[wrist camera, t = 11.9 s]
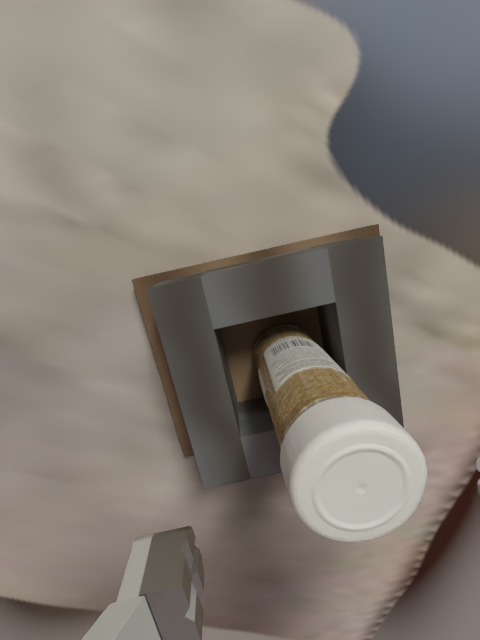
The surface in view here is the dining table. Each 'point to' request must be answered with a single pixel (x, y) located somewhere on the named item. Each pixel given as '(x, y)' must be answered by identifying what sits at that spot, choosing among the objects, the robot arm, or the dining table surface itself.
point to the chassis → (244, 330)
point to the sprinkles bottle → (336, 442)
